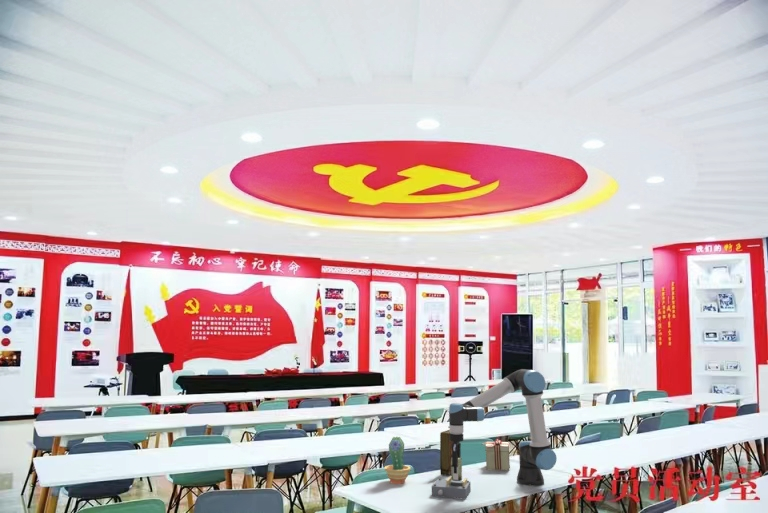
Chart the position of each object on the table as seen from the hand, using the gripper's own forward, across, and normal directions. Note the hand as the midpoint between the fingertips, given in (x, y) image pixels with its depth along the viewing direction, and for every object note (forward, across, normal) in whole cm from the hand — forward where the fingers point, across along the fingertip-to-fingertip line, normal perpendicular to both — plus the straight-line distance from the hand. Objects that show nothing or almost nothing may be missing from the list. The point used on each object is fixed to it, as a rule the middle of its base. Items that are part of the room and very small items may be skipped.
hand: (456, 478), depth 302 cm
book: (+8, -46, -12) cm, 48 cm away
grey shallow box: (+8, +1, -3) cm, 9 cm away
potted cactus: (+9, -15, -37) cm, 41 cm away
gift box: (+8, -70, +13) cm, 72 cm away
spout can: (+1, 0, 0) cm, 1 cm away
